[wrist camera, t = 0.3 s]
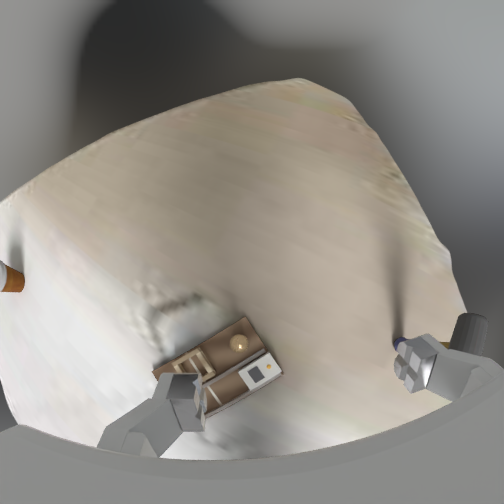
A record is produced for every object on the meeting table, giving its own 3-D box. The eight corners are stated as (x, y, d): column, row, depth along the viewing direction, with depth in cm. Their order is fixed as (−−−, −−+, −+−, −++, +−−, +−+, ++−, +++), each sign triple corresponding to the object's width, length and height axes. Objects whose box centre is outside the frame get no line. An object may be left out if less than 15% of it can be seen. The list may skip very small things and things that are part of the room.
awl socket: (216, 372, 57) (215, 375, 54) (191, 386, 55) (188, 389, 53) (199, 346, 58) (197, 348, 55) (174, 361, 57) (171, 363, 54)
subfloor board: (282, 372, 58) (284, 374, 56) (190, 424, 54) (188, 428, 52) (245, 316, 61) (245, 316, 59) (153, 370, 57) (150, 372, 55)
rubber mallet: (399, 370, 58) (478, 387, 29) (378, 363, 59) (456, 380, 30) (415, 326, 61) (496, 321, 32) (395, 317, 62) (476, 308, 33)
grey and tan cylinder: (251, 343, 58) (252, 346, 50) (237, 351, 58) (236, 356, 50) (242, 329, 59) (241, 331, 51) (228, 338, 59) (226, 341, 50)
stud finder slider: (280, 369, 57) (282, 371, 54) (250, 387, 55) (250, 391, 52) (268, 351, 58) (269, 353, 55) (238, 370, 56) (237, 372, 53)
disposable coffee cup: (21, 303, 59) (-5, 298, 48) (8, 287, 60) (-16, 280, 49) (31, 277, 62) (6, 269, 50) (18, 262, 62) (-6, 253, 51)
